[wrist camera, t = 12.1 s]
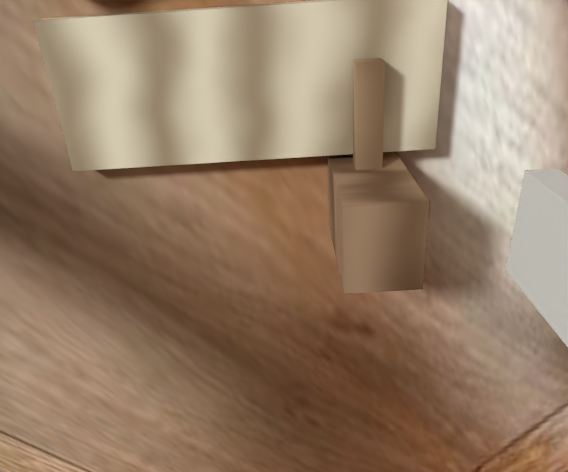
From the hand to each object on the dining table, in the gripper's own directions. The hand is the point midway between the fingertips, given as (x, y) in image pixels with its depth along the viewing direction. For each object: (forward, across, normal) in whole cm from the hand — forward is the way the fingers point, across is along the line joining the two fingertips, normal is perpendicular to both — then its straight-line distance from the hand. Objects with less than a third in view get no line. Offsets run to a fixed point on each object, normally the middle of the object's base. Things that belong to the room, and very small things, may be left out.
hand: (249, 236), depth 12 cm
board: (+26, -1, -1) cm, 26 cm away
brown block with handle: (+26, +7, -6) cm, 27 cm away
